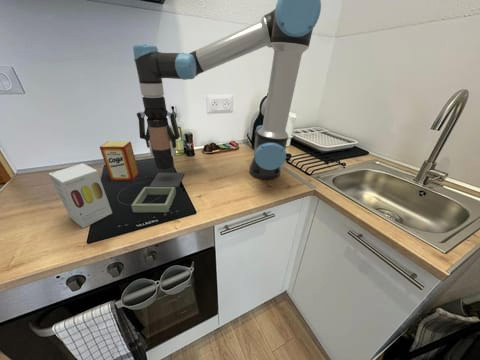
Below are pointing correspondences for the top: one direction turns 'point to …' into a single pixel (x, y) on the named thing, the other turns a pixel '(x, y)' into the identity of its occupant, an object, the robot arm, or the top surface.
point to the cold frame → (140, 207)
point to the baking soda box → (119, 160)
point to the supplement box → (81, 194)
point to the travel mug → (160, 143)
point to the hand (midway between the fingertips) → (163, 154)
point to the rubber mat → (167, 180)
